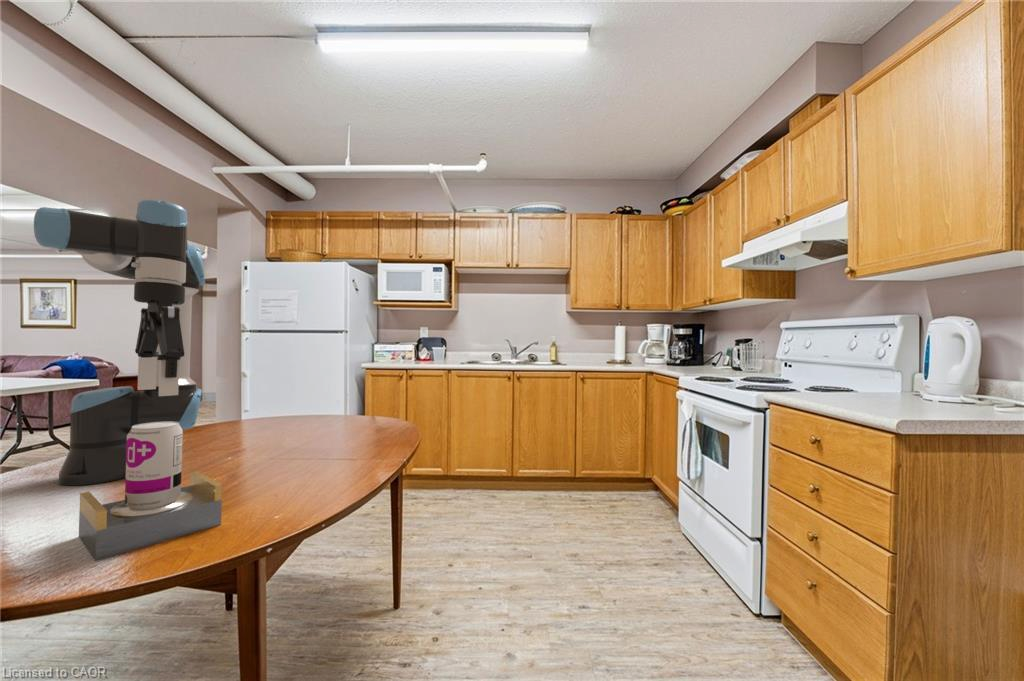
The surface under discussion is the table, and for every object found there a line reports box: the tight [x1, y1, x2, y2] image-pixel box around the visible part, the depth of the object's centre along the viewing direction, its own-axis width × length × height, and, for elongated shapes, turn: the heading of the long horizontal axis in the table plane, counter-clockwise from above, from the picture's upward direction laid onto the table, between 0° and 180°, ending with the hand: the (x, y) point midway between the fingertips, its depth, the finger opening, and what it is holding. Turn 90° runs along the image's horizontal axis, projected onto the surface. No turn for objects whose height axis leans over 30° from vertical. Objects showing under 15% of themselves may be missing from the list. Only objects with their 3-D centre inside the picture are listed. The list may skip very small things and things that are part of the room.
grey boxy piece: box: [78, 470, 223, 562], centre depth 80 cm, size 14×18×8 cm
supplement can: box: [124, 421, 184, 510], centre depth 80 cm, size 8×8×15 cm
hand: (157, 392), depth 80 cm, fingers open, 13 cm apart
